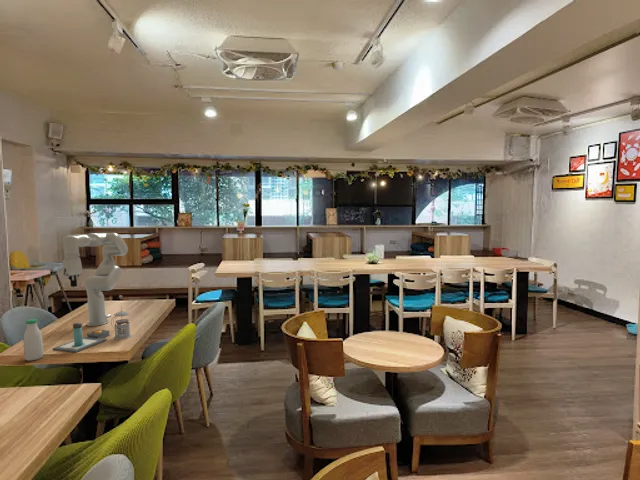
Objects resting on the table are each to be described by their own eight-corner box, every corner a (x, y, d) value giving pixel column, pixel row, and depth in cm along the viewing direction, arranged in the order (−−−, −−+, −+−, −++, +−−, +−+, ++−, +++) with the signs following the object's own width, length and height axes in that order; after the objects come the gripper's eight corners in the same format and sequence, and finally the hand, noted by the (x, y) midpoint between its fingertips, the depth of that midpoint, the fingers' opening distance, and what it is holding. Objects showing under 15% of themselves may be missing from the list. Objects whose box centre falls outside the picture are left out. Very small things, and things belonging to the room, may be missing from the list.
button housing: (98, 334, 244) (98, 329, 243) (109, 335, 241) (109, 330, 241) (87, 338, 236) (87, 333, 236) (98, 339, 234) (98, 334, 233)
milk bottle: (47, 356, 208) (44, 318, 206) (32, 361, 201) (29, 322, 199) (36, 354, 211) (33, 317, 209) (21, 360, 203) (18, 321, 202)
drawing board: (84, 338, 237) (84, 336, 237) (106, 340, 232) (106, 338, 232) (53, 349, 218) (53, 347, 218) (76, 352, 213) (75, 350, 213)
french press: (124, 340, 233) (122, 297, 231) (106, 338, 235) (104, 296, 233) (135, 334, 242) (133, 293, 240) (118, 333, 244) (116, 293, 242)
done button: (98, 335, 241) (98, 330, 241) (103, 335, 240) (103, 330, 240) (93, 337, 237) (92, 332, 237) (98, 337, 236) (98, 332, 236)
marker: (79, 343, 224) (77, 322, 223) (84, 344, 223) (83, 322, 222) (72, 346, 220) (70, 324, 219) (78, 346, 219) (76, 325, 218)
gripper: (78, 254, 251) (79, 283, 252) (55, 257, 236) (57, 288, 238) (87, 255, 248) (89, 284, 250) (65, 258, 234) (67, 289, 236)
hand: (73, 286), depth 244 cm, fingers closed
